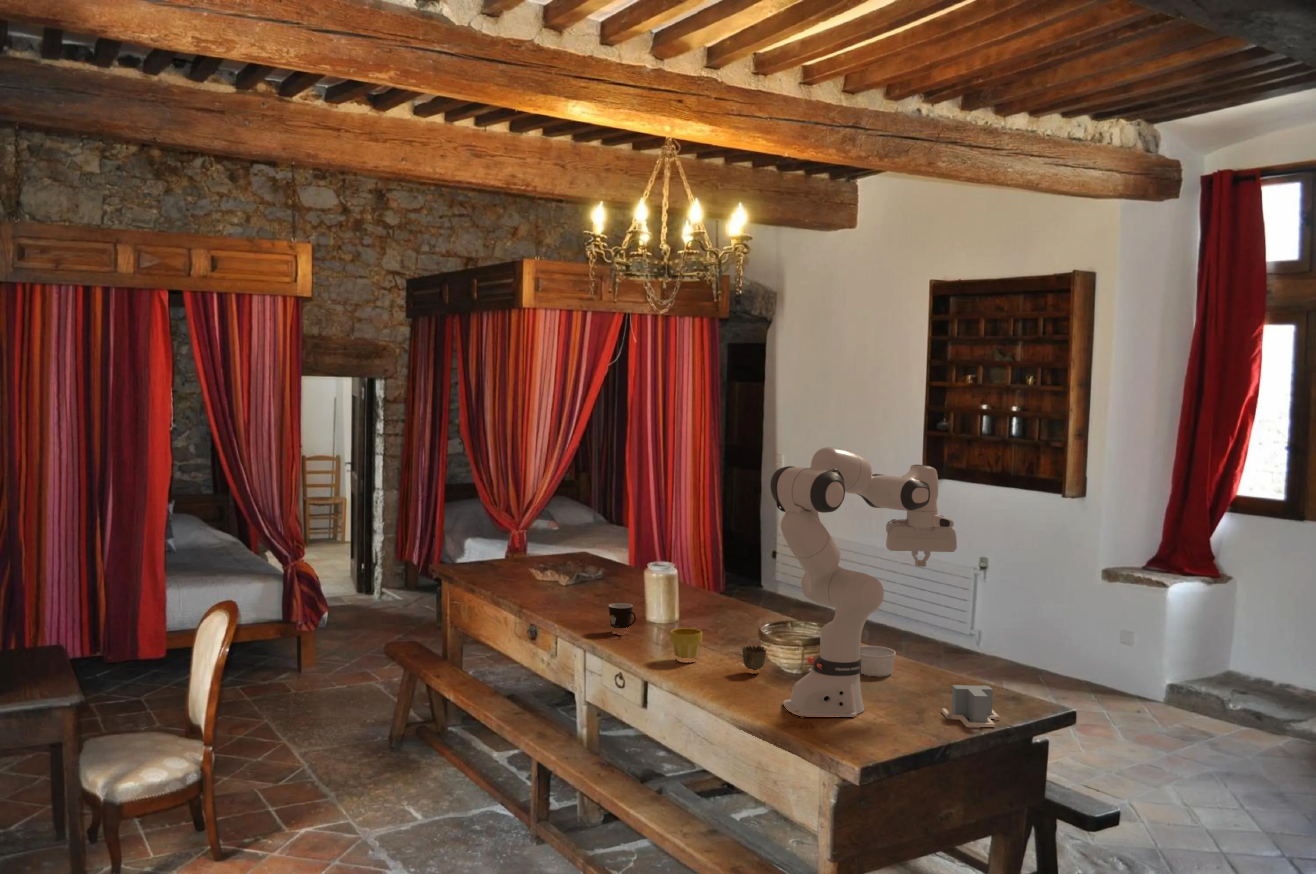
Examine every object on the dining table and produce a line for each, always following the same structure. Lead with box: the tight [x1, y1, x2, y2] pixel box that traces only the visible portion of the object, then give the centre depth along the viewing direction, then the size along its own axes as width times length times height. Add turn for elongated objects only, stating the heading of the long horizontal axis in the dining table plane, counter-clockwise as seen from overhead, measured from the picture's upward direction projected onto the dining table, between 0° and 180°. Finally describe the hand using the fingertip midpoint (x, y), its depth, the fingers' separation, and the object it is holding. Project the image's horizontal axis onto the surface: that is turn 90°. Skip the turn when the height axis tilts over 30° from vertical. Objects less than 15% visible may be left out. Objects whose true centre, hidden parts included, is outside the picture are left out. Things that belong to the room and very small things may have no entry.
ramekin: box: [860, 645, 897, 678], centre depth 338 cm, size 13×13×7 cm
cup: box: [742, 645, 767, 670], centre depth 334 cm, size 8×7×8 cm
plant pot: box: [669, 627, 703, 658], centre depth 347 cm, size 10×10×10 cm
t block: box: [951, 684, 993, 723], centre depth 292 cm, size 10×10×8 cm
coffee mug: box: [608, 602, 637, 628], centre depth 382 cm, size 12×9×10 cm
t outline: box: [941, 708, 1001, 728], centre depth 292 cm, size 14×13×1 cm
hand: (920, 566), depth 317 cm, fingers closed
